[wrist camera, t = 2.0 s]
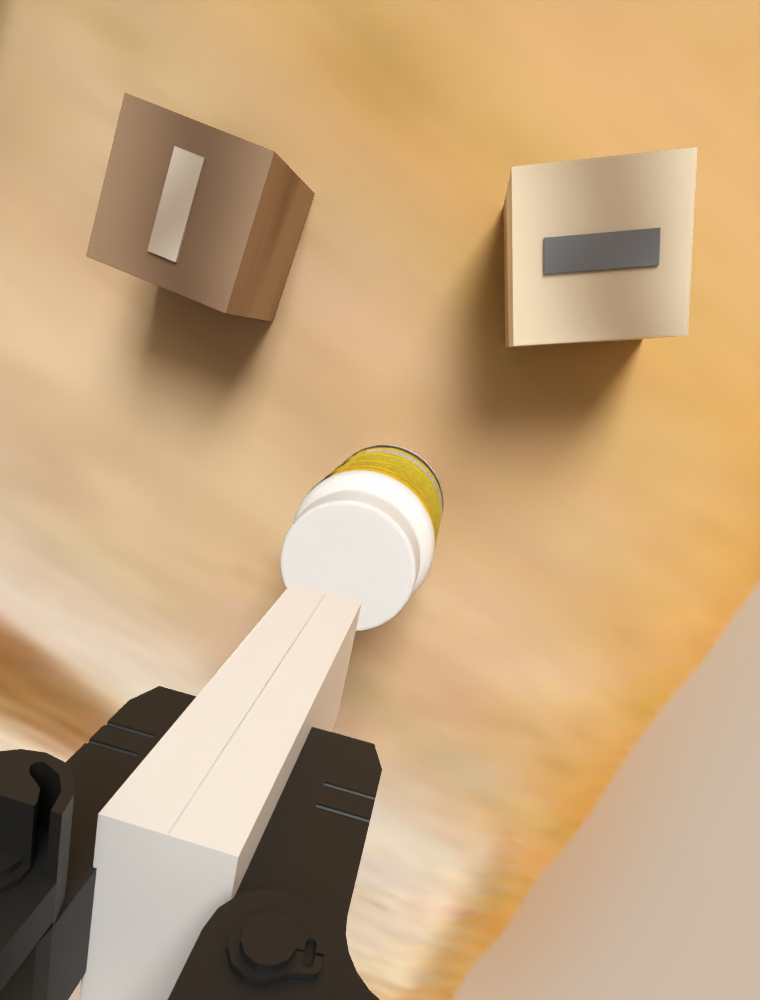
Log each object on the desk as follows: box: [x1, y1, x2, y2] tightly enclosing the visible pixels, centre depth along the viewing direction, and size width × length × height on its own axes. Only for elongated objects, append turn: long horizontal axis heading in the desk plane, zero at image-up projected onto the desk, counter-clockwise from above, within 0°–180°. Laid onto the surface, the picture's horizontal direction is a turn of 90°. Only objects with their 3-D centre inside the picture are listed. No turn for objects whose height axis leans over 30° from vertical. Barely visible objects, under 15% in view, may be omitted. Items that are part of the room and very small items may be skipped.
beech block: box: [503, 147, 697, 348], centre depth 20 cm, size 5×5×5 cm
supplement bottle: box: [280, 445, 443, 631], centre depth 21 cm, size 5×5×8 cm
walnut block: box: [86, 93, 315, 322], centre depth 22 cm, size 5×5×5 cm
